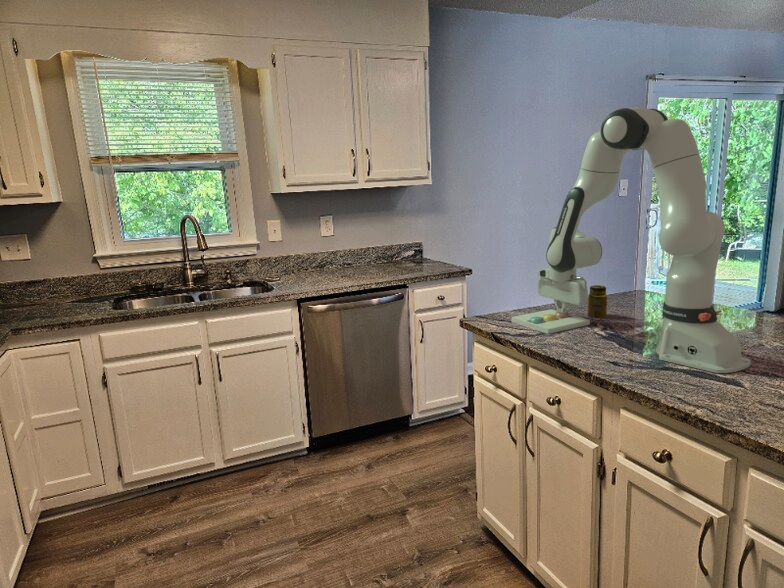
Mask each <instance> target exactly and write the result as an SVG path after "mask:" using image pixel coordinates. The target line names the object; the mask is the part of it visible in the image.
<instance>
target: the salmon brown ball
mask: <svg viewBox="0 0 784 588" xmlns="http://www.w3.org/2000/svg"><path fill="white" fill-rule="evenodd" d="M568 315H569V312H568V311H567V313H566V314H562V313H558V312H556V317H557V318H561V319H563V318H568Z"/></svg>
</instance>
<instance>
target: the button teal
mask: <svg viewBox="0 0 784 588" xmlns="http://www.w3.org/2000/svg"><path fill="white" fill-rule="evenodd" d="M531 323H534V324H540V323H544V318H542V317H531Z"/></svg>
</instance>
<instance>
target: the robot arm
mask: <svg viewBox="0 0 784 588" xmlns="http://www.w3.org/2000/svg"><path fill="white" fill-rule="evenodd" d="M638 150H645V151H646V152H647V153H648V155H649V157H650V162H651V166H652V171H653V174H654V175H653V176H654V180H655V185H656V188H657V193H658V198H659V199H658V200H659V218H660V220H659V221H660V230H659V233H658V243H659V245H660V247H661V248H662V249H663V251H664V252H665V253H667V254H668V255H671V256H672V260H671V264H670V265H669V269H668V271H667V273H666V281H665V282H666V283H665V297H664V302H663V304H662V314H661V315H662V319H663V320H662V321H663V322H662V326H661V327H662V328H661V333H660V336H659V339H658V342H657V345H656V348H655V351H654V352H655V353H656V354H657V355H658V360H661V361H665V362H668V363H669V362H670V363H672V364H678V365H680V366H686V367H690V368H695V369H698V370H702V371H707V372H711V373H716V374H728V373H736V372H738V371H739V372H740V371H743V370H745V369H748V368H749V367H750V366H751V364H752V361H751V359H750V358H748V357H745V356H742V349H741V347H742V346H741V343H740V340H739V339H738V338H737V337H736V336H735V335H734V334H732V332H730V331H729V330H728V329H727V328H726V327H725V326H723V324H721V322H719V321H718V317H717V316H720V315H722V313H721V312H722V310H717V311H716V310H715V307H714V305H713V295H714V283H715V274H716V270H717V266H718V263H719V258H720V253H721V249H722V243H723V238H724V235H725V233H726V225H725V222H724V220H723V218H721V217H720V215H718V214H717V213H714V212H712V211H708V210H707V202H706V189H707V181H706V180H707V179H706V176H705V172H704V167H703V164H702V160H701V155H700V151H699V147H698V144H697V142H696V138H695V136H694V134H693V132H692V130H691V127H690V126H689V124H688V122H686V120H683V119H681V118H670V119H669V118H668V117H667V115H666V114H665V113H664V112H662V111H661V110H659V109H656V108H645V107H642V106H641V107H639V106H637V107H622V108H618V109H615V110H614V111H612V112H611V113H609V114H608V115H606V116H605V118H604V120H602V123H601V126H600V131H597V132H595V133H593V134H591V136H590V137H589V139H588V141H587V144H586V147H585V150H584V152H583V155H582V160H581V165H580V169H579V173H578V176H577V178H576V181H575V184H574V185H573V187H572V188H571V189H570V191H568V194H567V195H566V197H565V200H564V203H563V206H562V209H561V211H560V212H561V213H560V215H559V218H558V221H557V224H556V226H555V227H553V228H552V229H551V232H550V234H549V242H548V243H549V244H548V247H547V250H546V254H545V256H546V261H547V263H548V267H547V268H543V269H539V270H538V271H537V274H538V275H537V276H538V279H537V293H538V295H539V296H540V297H543V298H544V297H545V298H548V299H552V300H553V301H554V305H555V307H556V311H557V312H558V313H562V314H566V313H567V312H568V307H569V306H570V304H571V305H576V306H584V305H586V304H587V305H588V295H589V294H588V293H589V291H588V285H587V281H586V280H585V278H584V277H583V276H577V269H582V268H586V267H587V268H588V267H592V266H595V265H597V264H598V263H600V261H601V259H602V257H603V247H602V245H601V242H600V241H599V240H598V239H597V238H595V237H592V236H590V235H587V234H584V233H583V232H581V231H580V230H579V229H578V228H579V224H580V222H581V219H582V216H583V215H584V214H585V213H586V211H587V210H588V209H589V208H591V207H593V206H594V205H595V204H597V203H599V202H600V201H603V200H605V199H606V198H608V197H609V196H611V194H612V193H613V192H614V191H615V189H616V186H617V185H618V180H619V175H620V171H621V166H622V162H623V159H624V157H625V155H626V154H627V153H628V152H629V151H638Z"/></svg>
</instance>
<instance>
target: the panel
mask: <svg viewBox="0 0 784 588" xmlns="http://www.w3.org/2000/svg"><path fill="white" fill-rule="evenodd" d="M556 312H557V309H556V310H555V309H552V308H551V309H546V310H542V311H541V310H540V311H535V312H531V313H527V314H522V315H521V314H520V315H515V316H512V317H511V323H514V324H517V325H520V326H523V327H527V328H528V329H529V328H530V329H533V330H535V331H538V332H542V333H543V334H547V335H550V334H553V333H557V332H563V331H567V330H571V329H575V328H580V327H584V326H588V325H589V326H590V325H591V320H590V319H588V318H584V317H581V316H577V315H573V314H571V313H570V314H569V315H568V318H563V319H561V318H557V317H556V320H554V321H546V320H544V323H540V324H534V323H531V317H542V318H543V315H545V314H553V315H556Z"/></svg>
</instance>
